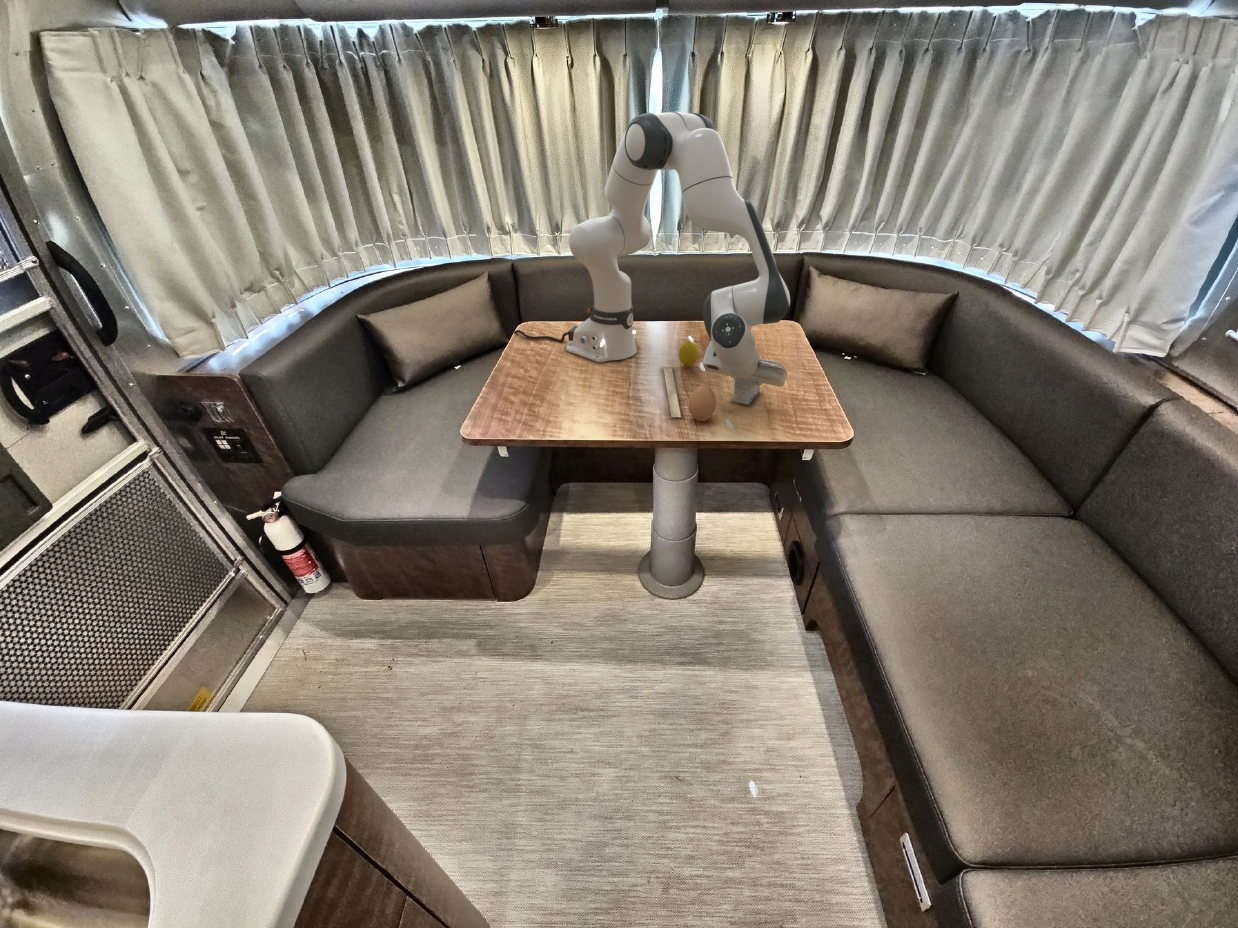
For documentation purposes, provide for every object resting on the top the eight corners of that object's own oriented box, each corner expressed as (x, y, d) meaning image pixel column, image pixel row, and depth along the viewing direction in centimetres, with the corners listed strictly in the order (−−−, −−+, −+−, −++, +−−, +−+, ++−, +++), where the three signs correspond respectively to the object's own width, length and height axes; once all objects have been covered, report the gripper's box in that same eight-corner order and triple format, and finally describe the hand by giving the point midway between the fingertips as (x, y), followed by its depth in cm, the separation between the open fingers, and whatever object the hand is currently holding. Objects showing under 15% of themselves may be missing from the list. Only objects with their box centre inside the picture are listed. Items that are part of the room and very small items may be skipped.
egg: (699, 410, 135) (701, 377, 130) (720, 419, 131) (723, 386, 126) (681, 419, 131) (683, 386, 126) (702, 429, 127) (705, 395, 122)
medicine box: (748, 405, 136) (752, 375, 131) (732, 401, 138) (735, 371, 133) (759, 393, 142) (763, 363, 137) (743, 389, 144) (747, 359, 139)
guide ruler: (671, 418, 132) (671, 417, 132) (663, 369, 155) (663, 368, 155) (681, 418, 132) (681, 417, 132) (671, 369, 155) (671, 368, 155)
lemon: (685, 372, 153) (686, 346, 148) (674, 365, 157) (675, 339, 152) (701, 368, 155) (703, 342, 150) (690, 361, 159) (692, 336, 154)
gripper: (788, 354, 121) (792, 376, 133) (704, 338, 129) (716, 360, 142) (779, 380, 120) (784, 400, 133) (696, 362, 129) (708, 382, 141)
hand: (748, 379), depth 138 cm, fingers closed on medicine box, 4 cm apart
